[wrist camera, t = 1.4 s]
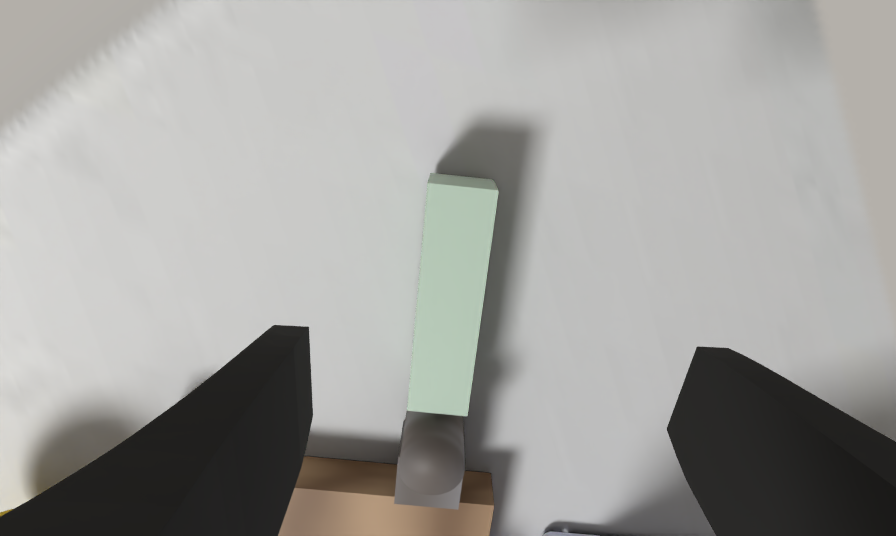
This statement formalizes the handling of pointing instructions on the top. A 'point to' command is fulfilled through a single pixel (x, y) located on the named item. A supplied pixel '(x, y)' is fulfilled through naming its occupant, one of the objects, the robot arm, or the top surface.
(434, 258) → the pale green bar
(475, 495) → the stool seat
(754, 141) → the top surface
